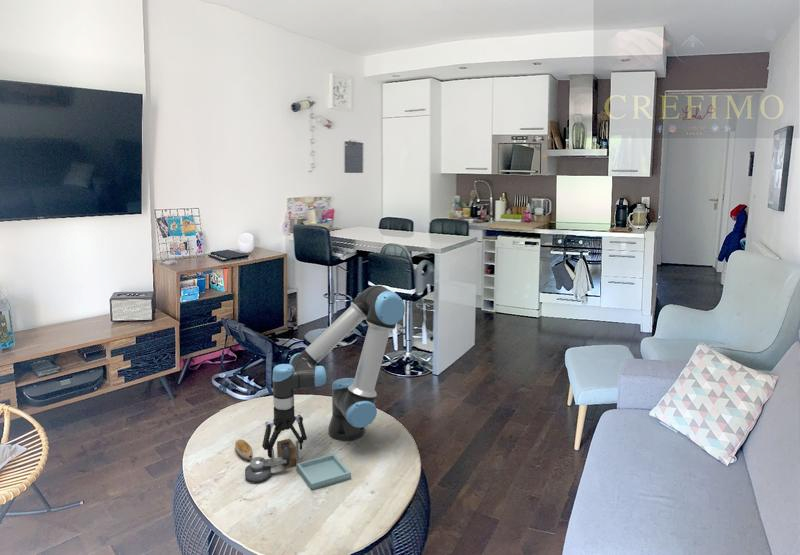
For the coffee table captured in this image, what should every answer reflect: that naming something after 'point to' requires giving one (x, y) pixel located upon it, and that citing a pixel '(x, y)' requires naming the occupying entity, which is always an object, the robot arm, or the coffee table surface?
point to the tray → (323, 471)
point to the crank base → (257, 475)
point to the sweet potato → (244, 449)
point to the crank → (271, 460)
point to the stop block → (291, 453)
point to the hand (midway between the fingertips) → (285, 461)
